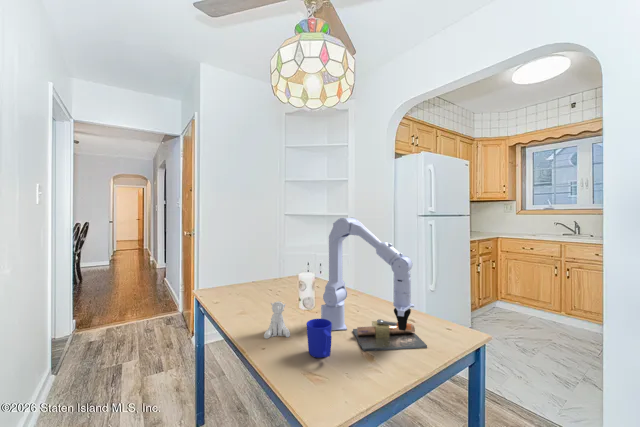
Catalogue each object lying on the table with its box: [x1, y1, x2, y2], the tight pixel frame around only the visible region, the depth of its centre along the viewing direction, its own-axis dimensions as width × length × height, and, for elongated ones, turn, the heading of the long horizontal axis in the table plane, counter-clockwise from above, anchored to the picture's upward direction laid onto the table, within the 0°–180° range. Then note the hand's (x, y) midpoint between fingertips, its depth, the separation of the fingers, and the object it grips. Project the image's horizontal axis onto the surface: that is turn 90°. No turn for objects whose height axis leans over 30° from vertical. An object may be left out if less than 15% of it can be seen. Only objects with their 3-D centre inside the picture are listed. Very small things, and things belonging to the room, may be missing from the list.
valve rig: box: [352, 320, 428, 352], centre depth 104 cm, size 22×16×5 cm
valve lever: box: [376, 319, 413, 330], centre depth 104 cm, size 12×2×1 cm, turn 66°
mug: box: [305, 318, 333, 359], centre depth 92 cm, size 8×12×10 cm
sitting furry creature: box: [263, 301, 291, 340], centre depth 109 cm, size 10×9×12 cm
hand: (402, 329), depth 101 cm, fingers closed
